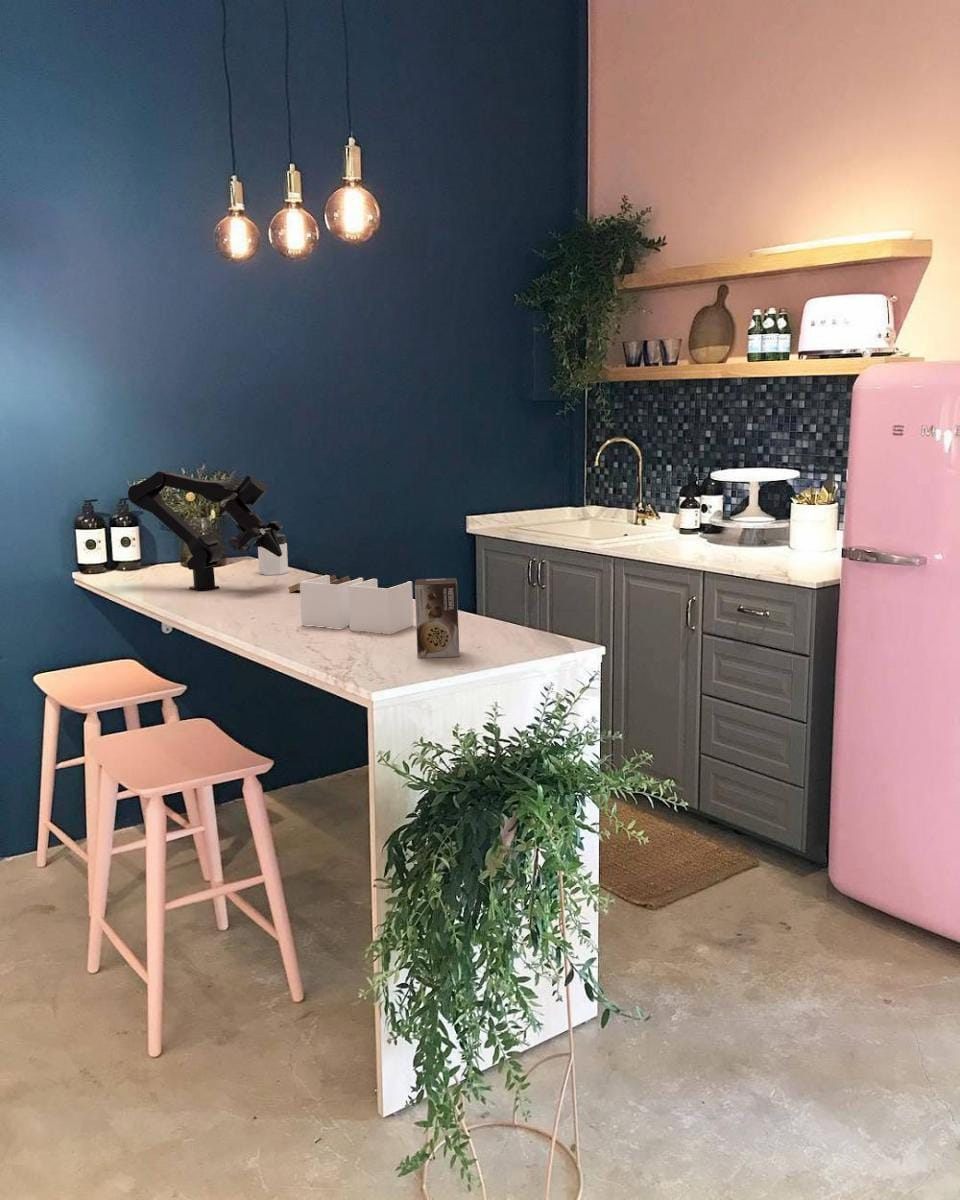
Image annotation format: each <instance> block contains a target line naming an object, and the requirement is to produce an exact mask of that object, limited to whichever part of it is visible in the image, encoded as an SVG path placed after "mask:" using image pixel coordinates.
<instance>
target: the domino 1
mask: <svg viewBox="0 0 960 1200" xmlns="http://www.w3.org/2000/svg"><path fill="white" fill-rule="evenodd" d="M321 576H322V574H318V575H316V576H313V577H311V578H308V579H306V580H310V579H314V578H317V577H321ZM306 580H304V581H306ZM287 589H288V591H289V593H290V592H291V593H293V592H296V591H298V590H300V582H298V583H296V584H293V585H291V586H289V587H287Z"/></svg>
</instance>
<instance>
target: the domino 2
mask: <svg viewBox="0 0 960 1200" xmlns="http://www.w3.org/2000/svg"><path fill="white" fill-rule="evenodd" d="M329 576H330V583H331V582H334V581H336V580H338V578H337V576H336V574H333V575H329Z"/></svg>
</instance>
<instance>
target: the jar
mask: <svg viewBox="0 0 960 1200" xmlns="http://www.w3.org/2000/svg"><path fill="white" fill-rule="evenodd" d="M276 535H277V539H278V542H279V545H280V548H281V551H282V555H281V556H280V557H278V556H276V555H275V554H273V553H271V552H270V551H268V550H266V549H265V548H263V547H257V554H258V555H257V556H258V570H259V571H258V573H259V574H261V575H263V574H264V575H263V576H280V575H285V574H287V573H289V563H288V561H289V560H288V544H287V542H286V535H285V534H283V533H277V534H276Z"/></svg>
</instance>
